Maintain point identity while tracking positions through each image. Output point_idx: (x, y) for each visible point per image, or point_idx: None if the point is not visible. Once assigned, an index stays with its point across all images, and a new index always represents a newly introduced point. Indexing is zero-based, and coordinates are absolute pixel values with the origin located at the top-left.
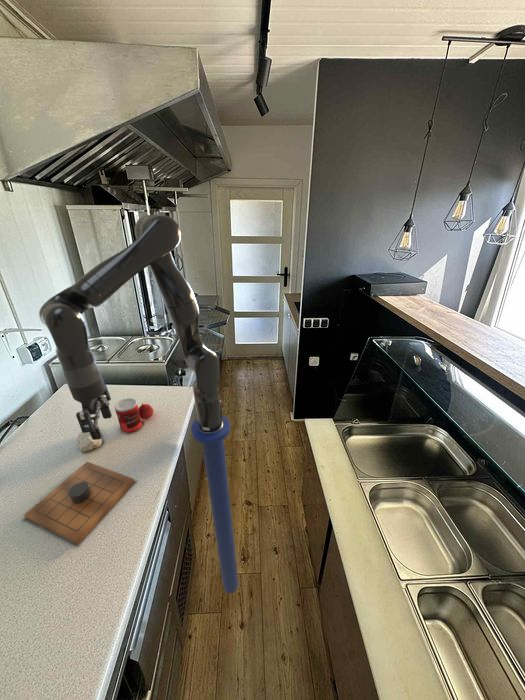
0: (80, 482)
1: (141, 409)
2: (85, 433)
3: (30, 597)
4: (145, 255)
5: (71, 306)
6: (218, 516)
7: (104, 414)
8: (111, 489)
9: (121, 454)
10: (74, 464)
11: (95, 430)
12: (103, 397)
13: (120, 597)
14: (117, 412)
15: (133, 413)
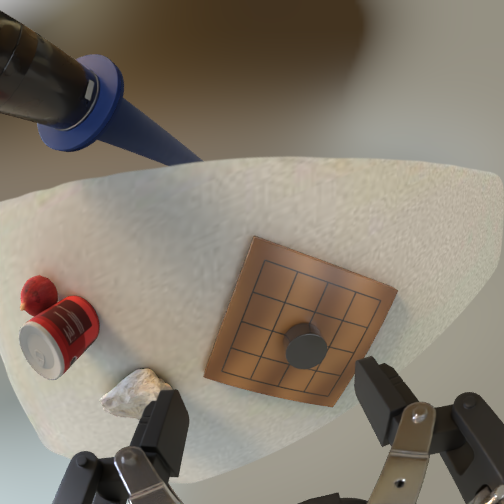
0: (287, 358)
1: (37, 306)
2: (135, 410)
3: (444, 306)
4: None
5: None
6: (180, 150)
7: (181, 431)
8: (287, 281)
9: (165, 310)
10: (206, 395)
11: (411, 402)
12: None
13: (455, 175)
14: (67, 366)
15: (55, 321)
